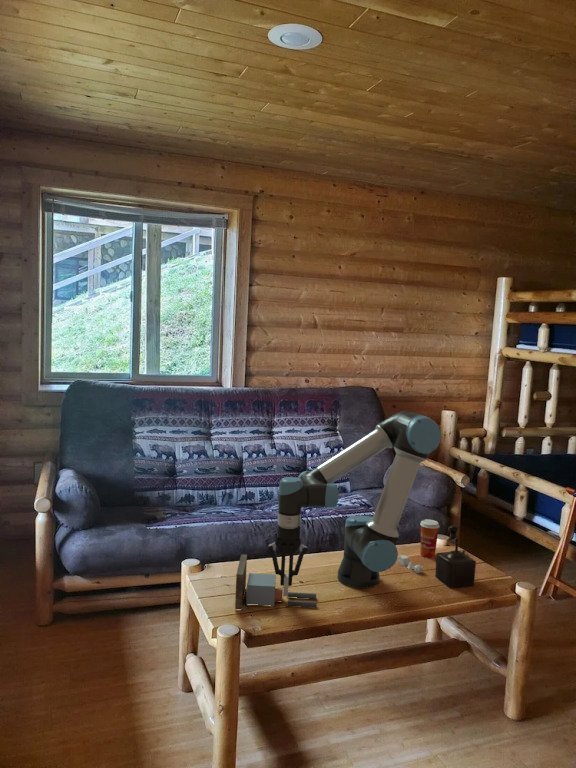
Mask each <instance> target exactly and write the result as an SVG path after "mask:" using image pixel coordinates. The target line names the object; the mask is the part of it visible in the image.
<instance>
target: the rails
mask: <svg viewBox="0 0 576 768" xmlns="http://www.w3.org/2000/svg"><path fill="white" fill-rule="evenodd" d="M288 597H297V598H309V599H308V600H315V599H316V600H317V593H313V592H311V593H310V592H308V593H307V592H293V591H288ZM288 597H287V598H288ZM308 600H290V599H289V600H288V599H287V603H286V604H287V605H288V606H287V605H286V606H287V607H289V606H301V607H300V608H309V607H315V608H314V609H317V607H318V606H317V605H318V601H308Z"/></svg>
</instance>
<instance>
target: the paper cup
mask: <svg viewBox="0 0 576 768" xmlns="http://www.w3.org/2000/svg"><path fill="white" fill-rule="evenodd" d="M419 525H420V556H421V557H423V558H426V559H432V558H435V555H436V549H437V541H438V534H439V529H440V528H441V527H440V524H439V522H438V521H437V520H434V519H422V520H421V521H420V524H419Z"/></svg>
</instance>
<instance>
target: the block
mask: <svg viewBox="0 0 576 768" xmlns="http://www.w3.org/2000/svg"><path fill="white" fill-rule="evenodd" d="M276 579H277V574H271V573H268V574H267V573H253V572H252V573H250V572H249V573H248V578H247V582H246V597H245V598H246V601H245V602H246V603H245V604H258V605H271V606H274V607H275V602H274V600H275V589H276V582H277V581H276Z"/></svg>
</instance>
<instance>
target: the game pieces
mask: <svg viewBox="0 0 576 768" xmlns="http://www.w3.org/2000/svg"><path fill="white" fill-rule="evenodd" d="M397 560H398V564H400V565H401V566H402V565H404V566H406V568H408V570H410V569H411V571H414V573H416V575H417V574H418V575H419V574H422V572H423V571H424V570H423V569H424V567H423V566H422V565H420V564H416V565H414V564H413V562H412V561H410V557H409V556H407V555H406V554H402V555H398V559H397ZM412 569H414V570H412Z"/></svg>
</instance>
